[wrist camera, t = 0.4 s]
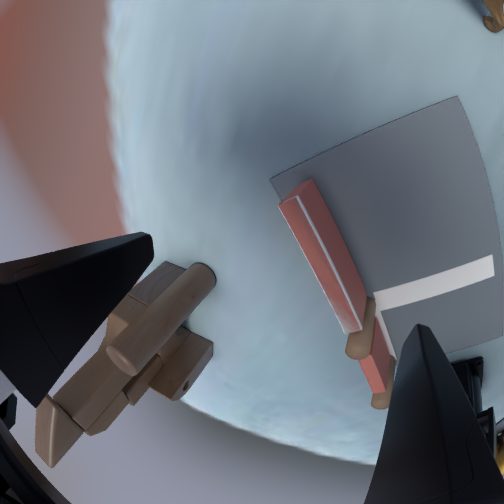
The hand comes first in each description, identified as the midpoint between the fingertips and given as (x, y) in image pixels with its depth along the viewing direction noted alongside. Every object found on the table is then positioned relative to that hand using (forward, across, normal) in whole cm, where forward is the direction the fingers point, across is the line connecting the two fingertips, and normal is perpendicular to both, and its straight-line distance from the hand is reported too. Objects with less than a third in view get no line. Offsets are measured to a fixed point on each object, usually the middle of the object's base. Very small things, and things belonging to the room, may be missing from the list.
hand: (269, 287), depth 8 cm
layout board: (+13, -8, +5) cm, 16 cm away
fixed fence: (+13, -7, +12) cm, 19 cm away
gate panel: (+12, -1, +4) cm, 13 cm away
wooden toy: (+13, +13, +18) cm, 26 cm away
